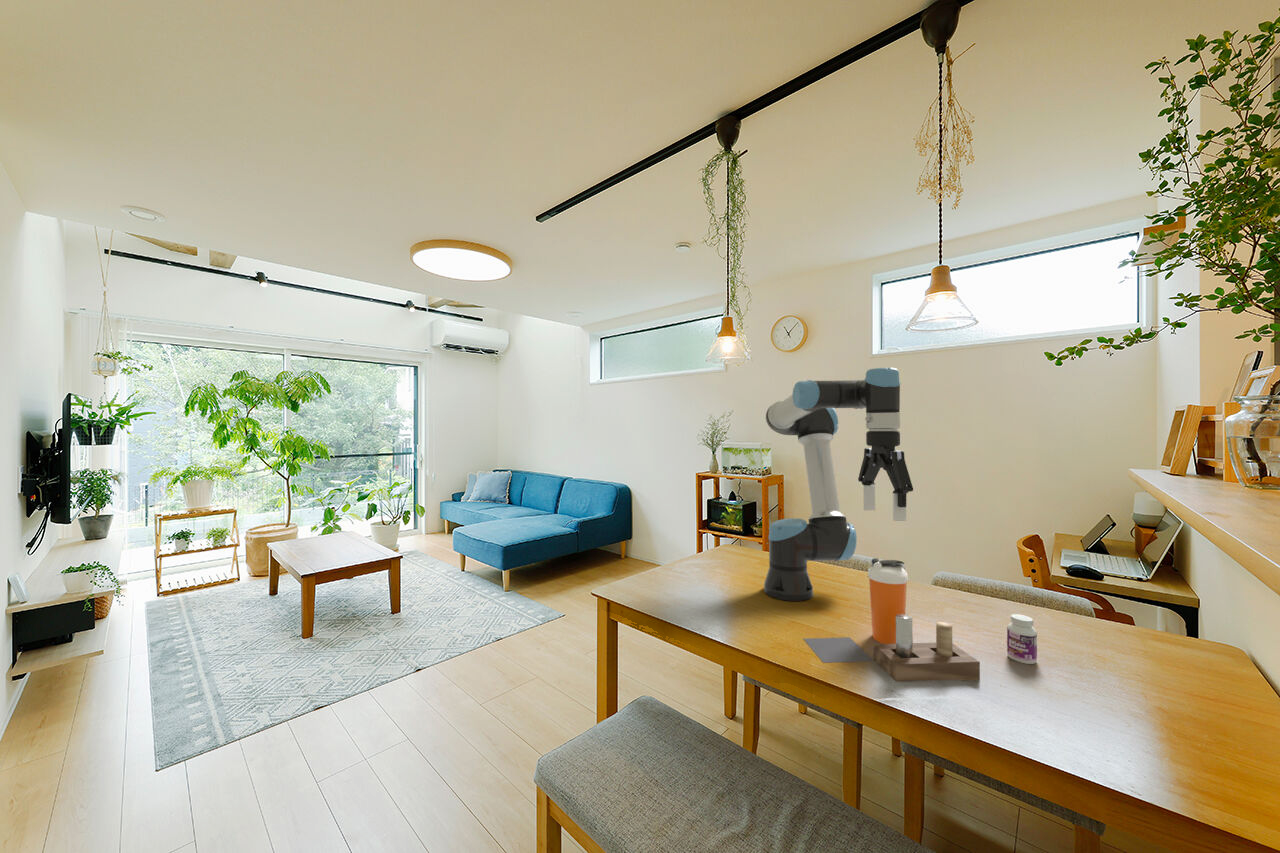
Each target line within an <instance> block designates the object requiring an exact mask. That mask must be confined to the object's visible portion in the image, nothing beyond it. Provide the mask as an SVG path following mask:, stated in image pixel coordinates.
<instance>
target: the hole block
mask: <svg viewBox="0 0 1280 853" xmlns="http://www.w3.org/2000/svg"><path fill="white" fill-rule="evenodd" d="M952 646H953V657H941V656H939V655H938V654H937V653H936V642H913V658H900V657H899V656H898V655H896V644H883V643H874V644H873V660H874V661H873V662H875V663H877V665H879V667H881V669H882V670H884V671H885V672H886V673H887V674H888V675H889V676H890V677H891V678H892V679H893V680H894V681H895V682H897V683H899V682H921V681H922V682H926V681H927V682H928V681H929V682H931V681H954V680H955V681H956V680H957V681H958V680H959V681H960V680H962V681H963V682H972V681H973V682H975V681H977V682H979V681H980V680H981V669H980V668H981V666H980V664H981V663H980V661H979V660H978V659H977V658H976V657H974V656H971V655H970V654H969V653H967V652H966V651H964V650H963V649H961V648H960V647H959V646H957V645H955V644H953V643H952Z"/></svg>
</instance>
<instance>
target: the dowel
mask: <svg viewBox="0 0 1280 853" xmlns="http://www.w3.org/2000/svg"><path fill="white" fill-rule="evenodd" d="M935 633H936V636H935V637H936V638H935V640H936V642H935V643H936V653H937V654H938V655H939V656H941V657H953V646H952V644H953V625H952V624H950V623H947V622H943V621H938V622H936V623H935Z"/></svg>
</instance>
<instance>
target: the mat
mask: <svg viewBox="0 0 1280 853" xmlns="http://www.w3.org/2000/svg"><path fill="white" fill-rule="evenodd" d="M803 641H804V642H805V643H806V644H807V645H808V646H809V648H810V649H811V650H812V651H813V652H814V654H815V655H816V656H817V657H818V659H819V660H820V661H821V663H823V664H826V663H827V664H829V663H830V664H831V663H861V662H863V663H864V662H875V661H874V658H873V657H871V656H870V654H868V653H867V652H866V651H865V650H864V649H863V648H862V647H861V646H860V645H858V644H857V643H856V642H855V641H854V640H853V639H852V638H851V637H849V636H848V637H846V636H845V637H818V638H817V637H815V638H813V637H812V638H811V637H810V638H803Z"/></svg>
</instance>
